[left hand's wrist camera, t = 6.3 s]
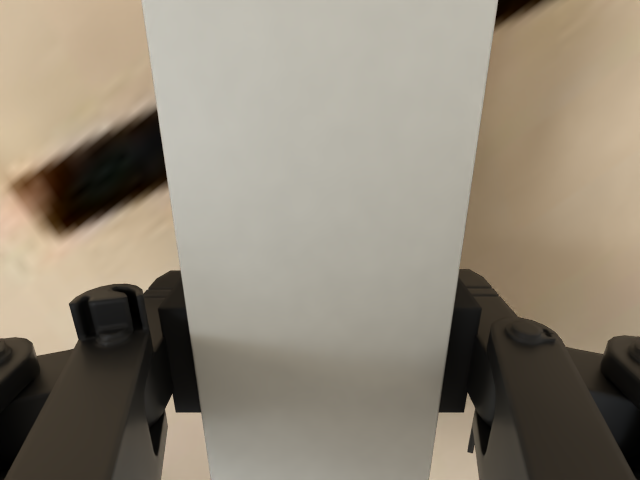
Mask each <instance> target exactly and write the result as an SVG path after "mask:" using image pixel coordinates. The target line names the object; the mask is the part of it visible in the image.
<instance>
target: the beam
mask: <svg viewBox="0 0 640 480" xmlns="http://www.w3.org/2000/svg"><path fill="white" fill-rule="evenodd" d="M497 4H498V0H142V7H143V14H144V21H145V28H146V35H147V42H148V49H149V56H150V62H151V69H152V76H153V83H154V90H155V97H156V104H157V111H158V118H159V125H160V131H161V138H162V145H163V152H164V159H165V166H166V173H167V180H168V187H169V193H170V200H171V207H172V214H173V221H174V228H175V235H176V242H177V249H178V255H179V262H180V269H181V276H182V283H183V290H184V297H185V304H186V311H187V317H188V324H189V331H190V338H191V345H192V352H193V359H194V366H195V373H196V380H197V386H198V393H199V400H200V407H201V414H202V421H203V428H204V435H205V442H206V448H207V455H208V462H209V469H210V476H211V480H429V475H430V468H431V461H432V454H433V447H434V440H435V433H436V426H437V420H438V413H439V406H440V399H441V392H442V385H443V378H444V371H445V364H446V357H447V350H448V343H449V336H450V329H451V323H452V316H453V309H454V302H455V295H456V288H457V281H458V274H459V267H460V260H461V253H462V246H463V239H464V233H465V226H466V219H467V212H468V205H469V198H470V191H471V184H472V177H473V170H474V163H475V156H476V149H477V143H478V136H479V129H480V122H481V115H482V108H483V101H484V94H485V87H486V80H487V73H488V66H489V59H490V52H491V46H492V39H493V32H494V25H495V18H496V11H497Z"/></svg>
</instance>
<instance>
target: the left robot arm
mask: <svg viewBox="0 0 640 480" xmlns="http://www.w3.org/2000/svg"><path fill="white" fill-rule="evenodd" d="M69 306H70V310H71V313H72V317H73V321H74V325H75V328H76V332H77V336H78V339H79V340H78V342H77V344H76V346H75V348H74V349H71V350H66V351H61V352H56V353H50V354H45V355H40V356H36V353H35V350H34V347H33V344H32V342H30V341H29V340H27V339H25V338H17V337H14V338H5V339H3V338H2V339H0V480H161V474H162V466H163V459H164V451H165V443H166V436H167V428H168V425H167V418H166V413H165V408H166V406H167V404H168V402H169V400H170V397H171V395H172V393H173V399H174V405H175V410H176V412H201V407H200V400H199V393H198V386H197V380H196V373H195V366H194V359H193V352H192V345H191V338H190V331H189V324H188V317H187V311H186V304H185V297H184V290H183V283H182V276H181V271H169V272H167V273H166V274H164V275H162V276H160V277H159V278H157V279H156V280H155V281H154V282H153V283H152V285H151V286H150V287H149V288H148V290H146V291H145V293H144V294H143V291H142V289H141V288H139V287H138V286H136V285H130V284H112V285H107V286H102V287H98V288H95V289H92V290H89V291H87V292H85V293H83V294H81V295H79V296H77V297H76V298H75V299H74V300H72V301H71V302H70V303H69ZM467 392H468V394H469V396H470V398H471V400H472V402H473V404H474V406H475V413H474V418H473V423H472V429H471V434H470V439H469V445H468V452H469V453H473V449H474V445H475V450H476V458H477V465H478V473H479V480H640V337H634V336H617V337H613V338H612V339H610V340H609V341H608V343H607V346H606V349H605V352H604V354H599V353H594V352H588V351H583V350H578V349H572V348H568V347H565V345H564V343H563V341H562V339H561V338H560V337H559V336H558V335H557V334H556V333H555V332H554V331H553V330H551V329H550V328H548V327H546V326H545V325H543V324H540V323H538V322H535V321H533V320H529V319H524V318H520V317H518V316H517V315H516V314H515V313H514V312H513V311H512V310H511V308H510V307H509V306H508V305H507V304H506V303H505V302H504V300H503V299H502V298H501V297H498V294H497V292H496V291H495V290H494V289H492V288H491V285H490V284H489V283H488V282H487V281H486V280H485V279H484V277H482V276H480V275H478V274H477V273H475V272H473V271H471V270H470V269H459V274H458V281H457V288H456V295H455V302H454V309H453V316H452V323H451V329H450V336H449V343H448V350H447V357H446V364H445V371H444V378H443V385H442V392H441V399H440V406H439V412H464V409H465V403H466V397H467Z"/></svg>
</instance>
